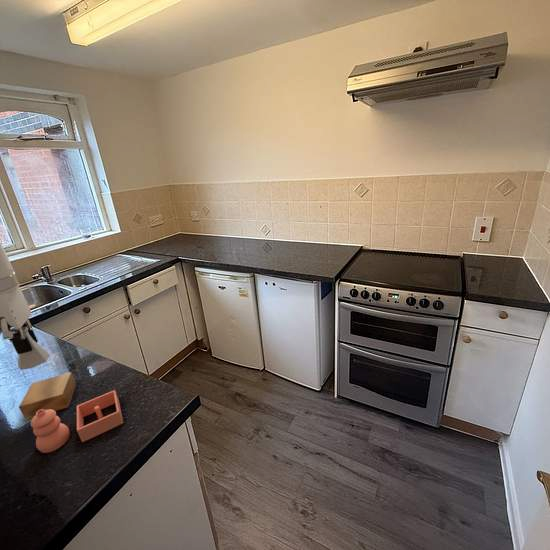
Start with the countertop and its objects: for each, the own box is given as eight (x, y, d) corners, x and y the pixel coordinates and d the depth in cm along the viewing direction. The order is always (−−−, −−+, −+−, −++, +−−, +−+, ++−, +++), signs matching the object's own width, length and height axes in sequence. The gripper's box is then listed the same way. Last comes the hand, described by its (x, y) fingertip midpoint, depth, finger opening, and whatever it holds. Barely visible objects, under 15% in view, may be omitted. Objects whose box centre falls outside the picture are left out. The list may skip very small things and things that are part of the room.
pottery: (119, 401, 83) (108, 373, 79) (123, 424, 75) (112, 393, 72) (41, 435, 74) (25, 405, 71) (37, 465, 67) (19, 433, 63)
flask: (16, 374, 76) (-1, 341, 72) (20, 360, 82) (4, 329, 78) (50, 362, 79) (35, 330, 76) (51, 350, 85) (38, 319, 82)
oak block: (26, 421, 79) (18, 407, 78) (38, 396, 88) (32, 383, 86) (68, 408, 82) (62, 394, 81) (76, 385, 91) (71, 372, 89)
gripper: (-5, 277, 78) (23, 336, 85) (-41, 301, 64) (-3, 370, 71) (28, 271, 81) (53, 329, 87) (2, 293, 66) (34, 361, 73)
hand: (28, 347), depth 79 cm, fingers closed on flask, 3 cm apart
